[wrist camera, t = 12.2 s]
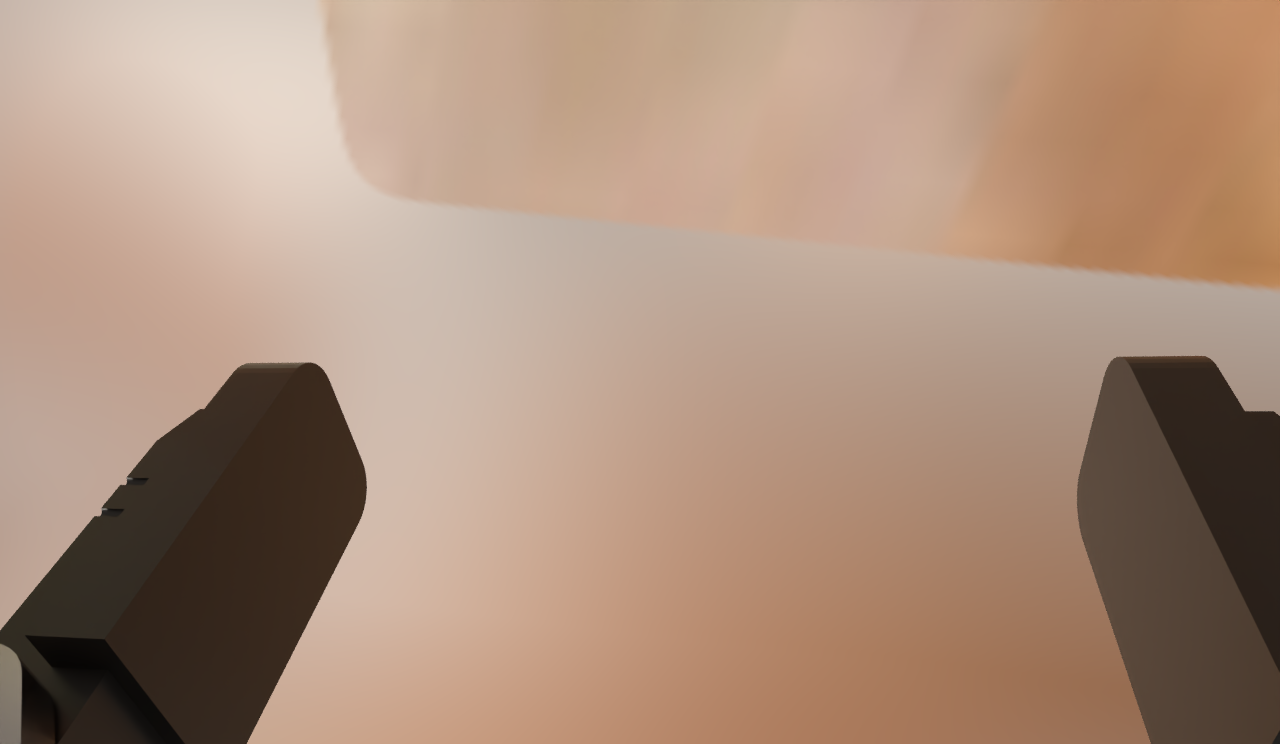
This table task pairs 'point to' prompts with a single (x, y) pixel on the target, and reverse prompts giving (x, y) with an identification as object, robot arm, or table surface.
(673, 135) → the table surface
